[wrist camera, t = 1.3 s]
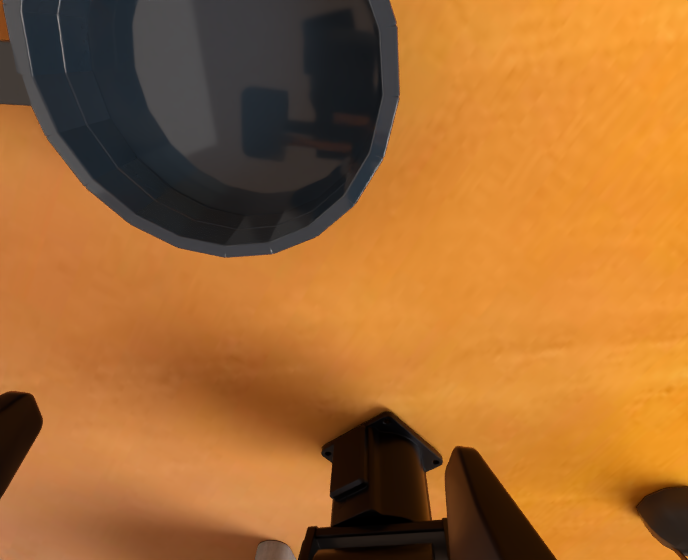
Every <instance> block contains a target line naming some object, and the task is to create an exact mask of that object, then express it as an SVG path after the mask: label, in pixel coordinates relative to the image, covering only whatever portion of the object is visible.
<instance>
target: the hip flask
mask: <svg viewBox="0 0 688 560" xmlns="http://www.w3.org/2000/svg"><path fill="white" fill-rule="evenodd" d="M255 560H296V559H295V557H294V555H293V553H292V551H291V549H290V548H289V546H287V545H286V544H284V543H282V542H279V541H264V542H262V543H260V544H259V545H258V547H257V552H256V556H255Z"/></svg>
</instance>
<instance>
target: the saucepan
mask: <svg viewBox="0 0 688 560" xmlns="http://www.w3.org/2000/svg"><path fill="white" fill-rule="evenodd" d="M2 2H3V3H4V4H3V9H4V14H5V19H6V24H7V29H8V34H9V39H10V43H11V45H12V51H13V56H14V61H15V66H16V71H17V73H19V74H22V75H23V76H22V77H23V80H24V83H25V86H26V89H27V93H28V96H29V99H30V102H31V107H32V109H33V111H34V113H35V115H36V117H37V119H38V122H39V124H40V126H41V128H42V130H43V132H44V134H45V136H47V139H48V141H49V142H50V143H51V144H52V146H53V147H54V148H55V150H56V151H57V152H58V153H59V155H60V156H61V157H62V159H63V160H64V161H65V162H66V164H67V165H68V166H69V168H70V169H71V170H72V171H73V173H74V174H75V175H76V177H77V178H78V179H79V180H80V182H81V183H82V184H83V186H86V189H88V190H89V191H90V192H91V193H92V194H94V195H95V196H96V197H97V198H99V199H100V200H101V201H102V202H103V203H105V204H106V205H107V206H108V207H109V208H111V209H112V210H113V211H114V212H116V213H117V214H118V215H119V216H120V217H122V218H123V219H124V220H125V221H126V222H128V223H130V224H131V225H132V226H134V227H136V228H138V229H140V230H142V231H145V232H147V233H149V234H151V235H153V236H155V237H157V238H159V239H161V240H163V241H165V242H167V243H169V244H171V245H173V246H175V247H178V248H181V249H186V250H190V251H195V252H200V253H205V254H210V255H215V256H219V257H224V258H226V257H227V258H228V257H241V256H255V255H268V254H275V253H277V252H280V251H282V250H285V249H287V248H290V247H292V246H295V245H298V244H300V243H303V242H305V241H308V240H310V239H313V238H315V237H316V236H319V235H320V234H321V233H322V232H324V231H325V230H326V229H327V228H328V227H330V226H331V225H332V224H333V223H334V222H335V221H337V220H338V219H339V218H340V217H341V216H343V215H344V214H345V213H346V212H347V211H349V210H350V209H351V208H352V207H353V206H354V205H355V204H356V203H357V201H358V200H359V198H360V196H361V195H362V193H363V191H364V190H365V188H366V187H367V185H368V183H369V182H370V180H371V179H372V177H373V175H374V174H375V172H376V170H377V169H378V167H379V166H380V164H381V162H382V161H383V157H385V153H386V149H387V145H388V141H389V138H390V134H391V130H392V126H393V122H394V118H395V114H396V110H397V106H398V103H399V96H400V86H399V57H398V28H397V25H396V24H397V22H396V19H395V16H394V13H393V9H392V6H391V3H390V0H2Z"/></svg>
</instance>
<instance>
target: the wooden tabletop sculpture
mask: <svg viewBox="0 0 688 560" xmlns="http://www.w3.org/2000/svg"><path fill="white" fill-rule="evenodd" d="M636 508H637V511H638V513H639V516H640V518H641V520H642V521H643V523H644V525H645V526H646V528H647V529H648V530H649V532H650V533H651V534H652V536H653V537H655V538H656V539H657V540H658V541H659V542H660V543H661V544H662V545H664V546H666V547H668V548H669V549H671V550H673V551H674V552H675V553H676V554H677V555H678V556H679V557H680V558H681V560H688V559H687V558H686V557H685V556H688V487H677V488H665V489H663V490H660V491H658V492H655V493H653V494H650V495H648V496H646V497H645V498H644V499H643V500H642V501H641V503H640V504H639V505H638V506H637V507H636Z"/></svg>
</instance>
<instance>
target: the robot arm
mask: <svg viewBox="0 0 688 560" xmlns="http://www.w3.org/2000/svg"><path fill="white" fill-rule="evenodd" d="M42 424H43V418H42V415H41V413H40V410H39V408H38V405H37V403H36V400H35V398H34V396H33V395H32V394H30V393H25V392H17V391H10V392H6V393H4V394H2V395H0V499H1V497H2V496H3V494H4V492H5V491H6V489H7V487H8V486H9V484H10V482H11V480H12V479H13V477H14V475H15V474H16V472H17V470H18V468H19V467H20V465H21V463H22V462H23V460H24V458H25V456H26V455H27V453H28V451H29V449H30V448H31V446H32V444H33V443H34V441H35V439H36V437H37V436H38V434H39V432H40V430H41V428H42ZM321 454H322V456H323V457H325V458H326V459H328V460H329V461H330V462H332V474H331V485H330V497H331V498H332V499H333V503H332V515H331V527H322V528H318V527H317V526H311V527H308V528H307V532H306V536H305V539H304V540H303V543H302V547H301V550H300V554H299V558H298V560H557V559H556V558H555V556H554V555H553V554H552V552H551V551H550V550H549V548H548V547H547V545H546V544H545V543H544V541H543V540H542V539H541V537H540V536H539V535H538V533H537V532H536V530H535V529H534V528H533V526H532V525H531V524H530V522H529V521H528V520H527V518H526V517H525V515H524V514H523V513H522V511H521V510H520V509H519V507H518V506H517V504H516V503H515V502H514V500H513V499H512V498H511V496H510V495H509V494H508V492H507V491H506V489H505V488H504V487H503V485H502V484H501V483H500V481H499V480H498V479H497V477H496V476H495V474H494V473H493V472H492V470H491V469H490V468H489V466H488V465H487V464H486V462H485V461H484V459H483V458H482V457H481V455H480V454H479V453H478V451H477V450H475V449H474V448H471V447H463V446H456V447H455V448H454V450H453V452H452V454H451V457H450V460H449V462H448V465H447V467H446V471H445V491H446V506H447V518H442V520H432V517H431V509H430V502H429V494H428V487H427V479H426V472H427V471H429V470H432V469H434V468H436V467H438V466H440V465H442V463H443V460H442V456H441V455H440V454H439V453H438V452H437V451H436V450H435V449H433V448H432V447H431V446H430V445H429V444H428V443H427V442H425V441H424V440H423V439H422V438H421V437H420V436H418V435H417V434H416V433H415V432H414V431H413V430H411V429H410V428H409V427H408V426H407V425H406V424H404V423H403V422H402V421H401V420H400V419H399V418H397V417H396V416H395V415H394V414H393V413H391V412H383V413H381V414H379V415H378V416H376V417H374V418H372V419H370V420H369V421H367V422H365V423H363V424H361V425H360V426H358V427H356V428H354V429H352V430H351V431H349V432H347V433H345V434H343V435H342V436H340V437H338V438H336V439H334V440H333V441H331V442H329V443H327V444H326V445H324V446H323V447H322V452H321Z"/></svg>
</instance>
